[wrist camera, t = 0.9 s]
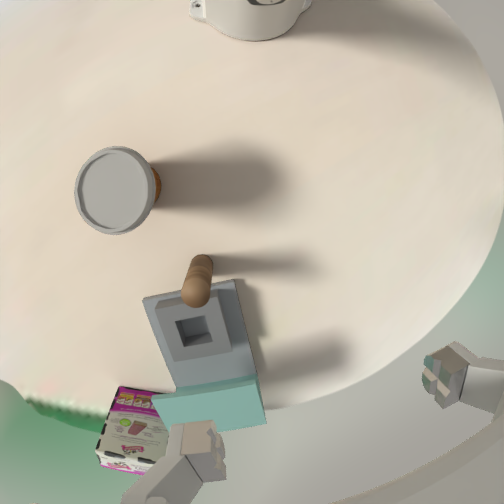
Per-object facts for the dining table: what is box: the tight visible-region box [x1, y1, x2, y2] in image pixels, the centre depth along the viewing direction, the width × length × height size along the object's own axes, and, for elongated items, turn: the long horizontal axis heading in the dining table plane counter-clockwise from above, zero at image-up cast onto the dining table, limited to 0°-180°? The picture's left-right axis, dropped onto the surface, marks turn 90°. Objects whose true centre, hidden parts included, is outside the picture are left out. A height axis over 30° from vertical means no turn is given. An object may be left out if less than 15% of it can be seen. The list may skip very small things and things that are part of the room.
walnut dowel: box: [181, 255, 213, 308], centre depth 37 cm, size 3×3×11 cm
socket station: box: [142, 279, 266, 432], centre depth 40 cm, size 18×14×12 cm
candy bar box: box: [95, 386, 169, 475], centre depth 40 cm, size 11×5×16 cm, turn 82°
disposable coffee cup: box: [74, 146, 161, 235], centre depth 33 cm, size 10×10×12 cm
